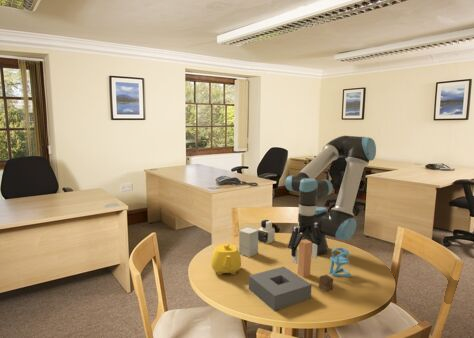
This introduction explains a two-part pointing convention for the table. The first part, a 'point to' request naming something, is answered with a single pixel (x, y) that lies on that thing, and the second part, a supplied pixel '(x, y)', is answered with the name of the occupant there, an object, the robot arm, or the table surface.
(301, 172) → the robot arm
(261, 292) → the hole block
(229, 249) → the teapot
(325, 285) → the short pin
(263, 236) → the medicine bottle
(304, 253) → the tall pin
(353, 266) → the table surface
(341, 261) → the blue tall openwork piece
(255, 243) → the supplement box
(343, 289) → the table surface
